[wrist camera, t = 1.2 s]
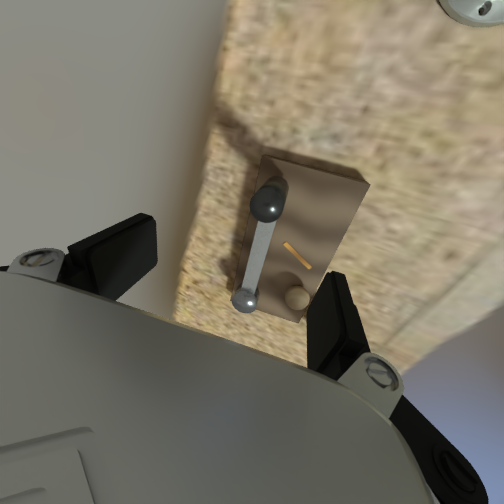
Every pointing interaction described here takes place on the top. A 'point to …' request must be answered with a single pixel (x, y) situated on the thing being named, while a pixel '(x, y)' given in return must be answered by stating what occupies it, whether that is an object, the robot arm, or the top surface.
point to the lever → (261, 238)
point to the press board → (300, 234)
